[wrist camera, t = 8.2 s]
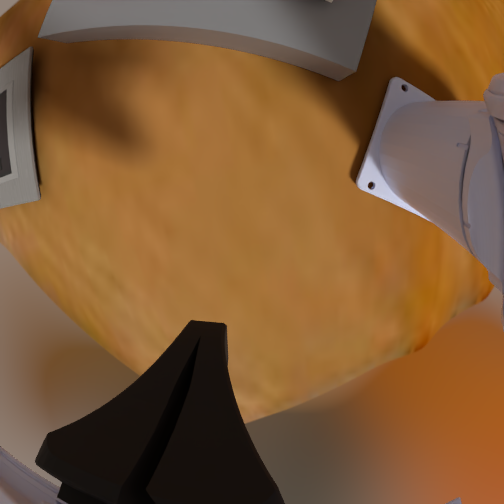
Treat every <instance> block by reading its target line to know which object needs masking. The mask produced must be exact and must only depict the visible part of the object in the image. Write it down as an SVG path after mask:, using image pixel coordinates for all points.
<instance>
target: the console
mask: <svg viewBox="0 0 504 504" xmlns="http://www.w3.org/2000/svg"><path fill="white" fill-rule="evenodd" d="M376 1H377V0H333V1H332V3H331V2H328V1H325V0H52V3H51V5H50V7H49V9H48V12H47V14H46V17H45V19H44V22H43V24H42V27H41V30H40V32H39V35H38V38H43V39H49V40H54V41H59V42H63V43H73V42H82V41H93V40H111V39H149V40H167V41H179V42H188V43H196V44H204V45H211V46H217V47H222V48H228V49H233V50H238V51H243V52H247V53H252V54H256V55H260V56H264V57H268V58H271V59H275V60H279V61H282V62H285V63H289V64H292V65H295V66H298V67H301V68H304V69H307V70H310V71H313V72H316V73H319V74H321V75H324V76H327V77H329V78H332V79H334V80H337V81H340V80H342V79H344V78H346V77H347V76H349V75H351V74H353V73H355V72H356V70H357V67H358V64H359V61H360V57H361V54H362V51H363V47H364V44H365V40H366V37H367V34H368V30H369V26H370V23H371V19H372V16H373V12H374V8H375V5H376Z"/></svg>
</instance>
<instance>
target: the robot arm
mask: <svg viewBox="0 0 504 504" xmlns="http://www.w3.org/2000/svg"><path fill="white" fill-rule="evenodd" d="M402 85H404V86H405V88H406V91H405V92H404V91H403V90H402V88H401V86H402ZM483 97H484V100H485V101H436V100H435V99H433V98H432V97H430V96H429V95H427V94H426V93H424V92H422V91H421V90H419V89H418V88H416V87H414V86H413V85H411V84H409V83H408V82H406V81H404V80H403V79H401V78H399V77H394V78H392V79H390V81H389V85H388V88H387V91H386V95H385V98H384V101H383V104H382V107H381V110H380V114H379V117H378V120H377V123H376V126H375V129H374V132H373V134H372V137H371V140H370V143H369V146H368V149H367V152H366V154H365V157H364V160H363V162H362V165H361V168H360V170H359V173H358V176H357V178H356V185H357V187H358V188H360V189H361V190H363V191H366V192H368V193H370V194H373V195H375V196H377V197H380V198H382V199H384V200H386V201H389V202H391V203H393V204H395V205H398V206H400V207H402V208H404V209H406V210H408V211H410V212H412V213H415V214H417V215H419V216H421V217H423V218H425V219H427V220H429V221H431V222H433V223H434V224H435V225H437V226H438V227H439V228H441V229H442V230H443V231H444V232H446V233H447V234H448V235H449V236H451V237H452V238H453V239H454V240H456V241H457V242H458V243H459V244H460V245H462V246H463V247H464V248H465V249H466V250H467V251H469V252H470V253H471V254H472V255H473V256H474V257H476V258H477V259H478V260H479V261H480V262H481V263H482V264H483V265H484V266H485V267H486V268H487V270H488V273H489V280H490V281H491V282H492V283H493V284H494V285H495V287H496V288H497V289H499V291H500V292H501V293H502V294H504V73H500V74H497V75H495V76H493V77H492V80H491V82H490V84H489V87H488V89H486V90H485V92H484V94H483ZM369 182H373V186H372V188H368V183H369ZM501 315H502V324H503V331H504V296H503V302H502V310H501ZM227 366H228V344H227V326H226V325H225V324H224V323H216V322H205V321H194V320H191V321H190V322H189V323H188V324H187V325H186V327H185V328H184V329H183V330H182V332H181V333H180V334H179V335H178V337H177V338H176V339H175V340H174V341H173V343H172V344H171V345H170V346H169V347H168V348H167V349H166V351H165V352H164V353H163V354H162V355H161V356H160V357H159V358H158V359H157V361H156V362H155V363H154V364H153V365H152V366H151V367H150V368H149V369H148V370H147V371H146V372H145V373H144V374H142V375H141V376H140V377H139V378H138V379H137V380H136V381H135V382H134V383H133V384H131V385H130V386H129V387H128V388H126V390H124V391H123V392H121V393H120V394H119V395H117V396H116V397H115V398H113V399H112V400H111V401H109V402H108V403H106V404H105V405H103V406H102V407H100V408H99V409H97V410H95V411H93V412H92V413H90V414H88V415H87V416H85V417H83V418H81V419H80V420H77V421H75V422H73V423H71V424H69V425H67V426H64V427H62V428H60V429H57V430H55V431H53V432H50V433H48V434H47V436H46V438H45V440H44V442H43V444H42V446H41V448H40V450H39V453H38V455H37V457H36V460H35V462H36V465H38V466H39V467H40V468H42V469H43V470H45V471H46V472H47V473H49V474H50V475H52V476H54V477H55V478H57V479H58V480H60V481H61V482H62V484H61V487H58V486H56V485H54V484H53V483H51V482H49V481H48V480H46V479H45V478H43V477H41V476H40V475H38V474H37V473H35V472H34V471H32V470H31V469H29V468H28V467H26V466H25V465H24V464H22V463H21V462H19V461H18V460H17V459H15V458H14V457H13V456H12V455H11V454H9V453H8V452H7V451H6V450H4V449H3V448H2V447H1V446H0V504H285V503H284V500H283V498H282V496H281V494H280V491H279V489H278V487H277V485H276V483H275V482H274V480H273V478H272V477H271V475H270V474H269V472H268V470H267V469H266V467H265V465H264V463H263V462H262V460H261V458H260V456H259V454H258V452H257V450H256V448H255V446H254V444H253V442H252V440H251V438H250V436H249V434H248V431H247V429H246V427H245V424H244V422H243V419H242V417H241V414H240V411H239V408H238V405H237V402H236V399H235V396H234V393H233V389H232V385H231V381H230V377H229V372H228V367H227ZM446 504H461V500H460V498H459V497H458V498H456V499H454V500H452V501H450V502H448V503H446Z"/></svg>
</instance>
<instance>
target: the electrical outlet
mask: <svg viewBox="0 0 504 504" xmlns="http://www.w3.org/2000/svg"><path fill="white" fill-rule="evenodd" d="M33 53H34V50H33V47H29V48H28V49H26V50H25V51H23V52H22V53H20V54H19V55H18V56H16V57H15V58H14V59H12V60H11V61H10V62H8V63H7V64H6V65H4V66H3V67H2V68H1V69H0V208H5V207H9V206H13V205H18V204H22V203H27V202H32V201H37V200H40V199H41V193H40V188H39V182H38V176H37V170H36V162H35V154H34V145H33V133H32V115H31V81H32V64H33Z"/></svg>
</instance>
